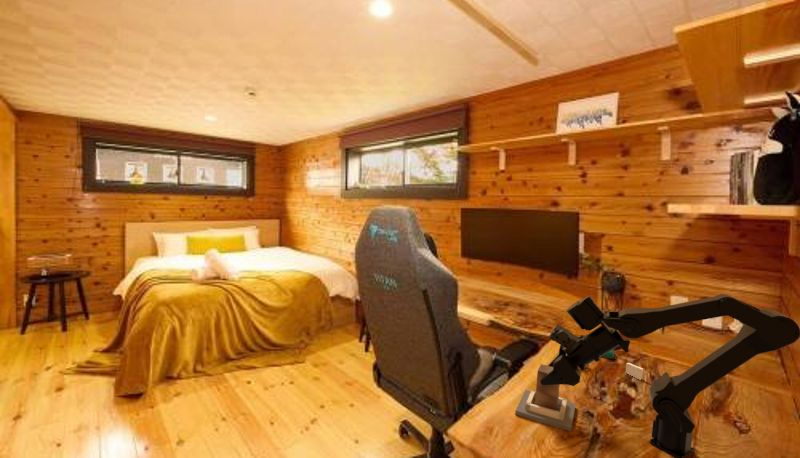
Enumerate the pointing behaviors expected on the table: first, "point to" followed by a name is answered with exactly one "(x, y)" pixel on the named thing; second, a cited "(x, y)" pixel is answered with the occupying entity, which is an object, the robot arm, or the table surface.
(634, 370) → the eraser
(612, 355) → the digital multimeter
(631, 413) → the table surface
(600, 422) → the table surface
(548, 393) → the block
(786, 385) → the table surface
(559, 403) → the socket plate
